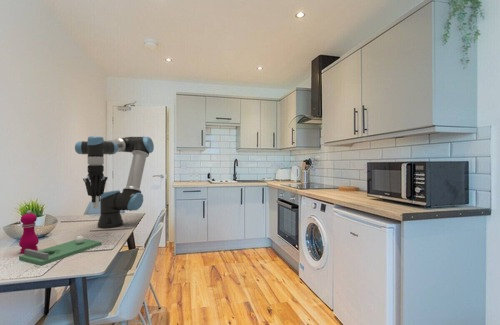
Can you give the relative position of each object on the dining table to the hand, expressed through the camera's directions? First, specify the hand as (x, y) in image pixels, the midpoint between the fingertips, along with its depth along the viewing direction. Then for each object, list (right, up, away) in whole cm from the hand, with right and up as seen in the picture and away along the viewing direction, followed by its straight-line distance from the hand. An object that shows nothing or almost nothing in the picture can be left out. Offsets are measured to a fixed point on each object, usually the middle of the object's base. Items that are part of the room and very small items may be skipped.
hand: (95, 208), depth 140 cm
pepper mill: (-24, -19, -15) cm, 34 cm away
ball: (-3, -15, -8) cm, 17 cm away
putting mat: (-6, -18, -15) cm, 25 cm away
